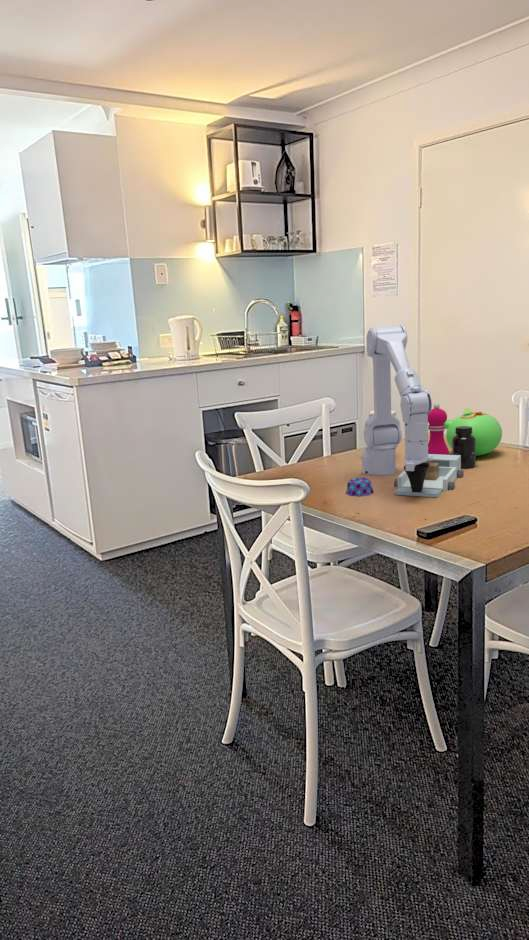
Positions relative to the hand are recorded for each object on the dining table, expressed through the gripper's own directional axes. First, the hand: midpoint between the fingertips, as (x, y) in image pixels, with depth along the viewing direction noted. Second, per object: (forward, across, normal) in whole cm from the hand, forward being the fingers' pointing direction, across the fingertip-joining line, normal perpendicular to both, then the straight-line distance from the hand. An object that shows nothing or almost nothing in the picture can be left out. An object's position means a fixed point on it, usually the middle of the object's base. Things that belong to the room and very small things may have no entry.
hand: (417, 491), depth 172 cm
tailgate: (+1, +1, 0) cm, 2 cm away
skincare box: (+2, +44, +22) cm, 49 cm away
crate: (0, +15, 0) cm, 15 cm away
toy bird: (+2, +53, -5) cm, 53 cm away
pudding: (+3, -1, +15) cm, 15 cm away
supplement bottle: (+2, +38, -5) cm, 38 cm away
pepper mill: (+2, +33, +2) cm, 33 cm away
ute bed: (+2, +15, 0) cm, 15 cm away
